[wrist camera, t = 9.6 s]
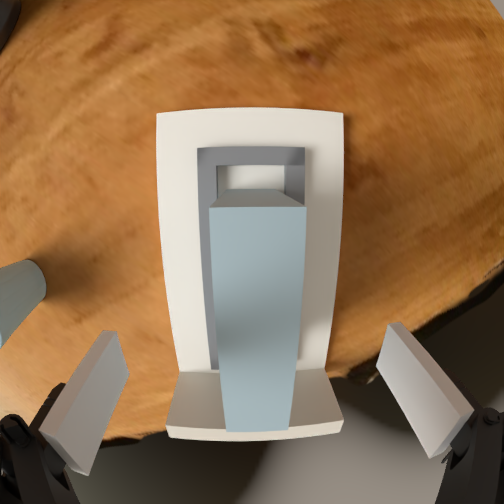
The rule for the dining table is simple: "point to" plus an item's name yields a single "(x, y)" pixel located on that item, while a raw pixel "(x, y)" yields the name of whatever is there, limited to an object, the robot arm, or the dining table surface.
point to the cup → (19, 295)
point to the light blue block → (257, 303)
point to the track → (199, 250)
